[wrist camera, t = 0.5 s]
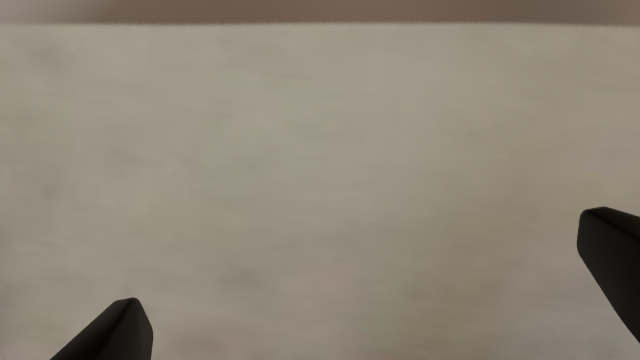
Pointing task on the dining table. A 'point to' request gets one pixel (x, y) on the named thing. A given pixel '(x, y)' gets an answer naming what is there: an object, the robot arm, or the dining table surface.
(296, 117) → the dining table surface
